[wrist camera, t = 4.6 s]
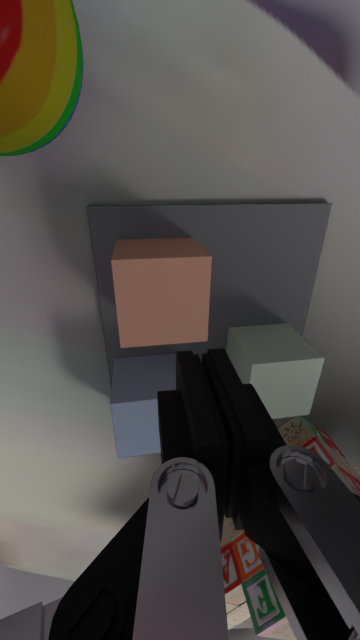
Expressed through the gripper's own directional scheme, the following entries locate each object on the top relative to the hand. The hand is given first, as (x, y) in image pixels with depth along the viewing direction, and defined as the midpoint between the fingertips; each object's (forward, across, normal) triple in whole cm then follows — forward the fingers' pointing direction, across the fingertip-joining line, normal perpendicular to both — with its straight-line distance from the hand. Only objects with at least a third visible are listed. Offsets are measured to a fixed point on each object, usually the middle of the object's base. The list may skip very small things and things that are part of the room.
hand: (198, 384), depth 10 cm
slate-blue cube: (+11, +2, +8) cm, 14 cm away
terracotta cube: (+11, +1, -1) cm, 11 cm away
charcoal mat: (+12, -3, +3) cm, 13 cm away
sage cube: (+11, -7, +6) cm, 15 cm away
